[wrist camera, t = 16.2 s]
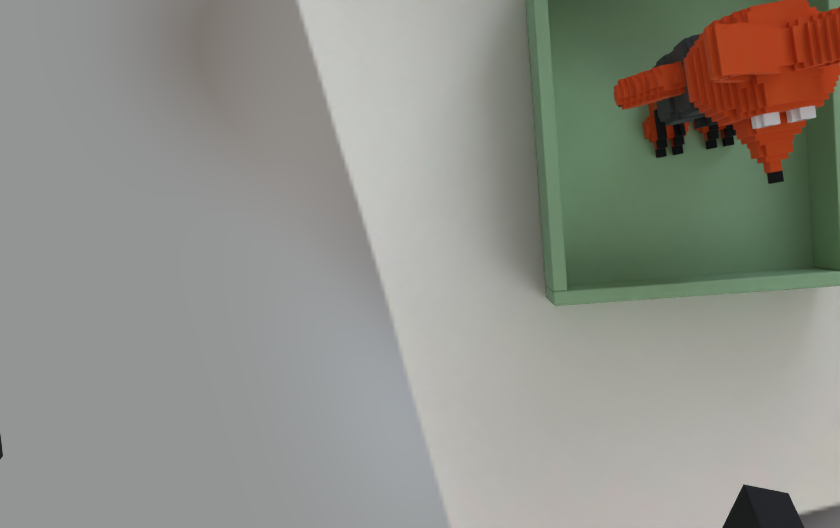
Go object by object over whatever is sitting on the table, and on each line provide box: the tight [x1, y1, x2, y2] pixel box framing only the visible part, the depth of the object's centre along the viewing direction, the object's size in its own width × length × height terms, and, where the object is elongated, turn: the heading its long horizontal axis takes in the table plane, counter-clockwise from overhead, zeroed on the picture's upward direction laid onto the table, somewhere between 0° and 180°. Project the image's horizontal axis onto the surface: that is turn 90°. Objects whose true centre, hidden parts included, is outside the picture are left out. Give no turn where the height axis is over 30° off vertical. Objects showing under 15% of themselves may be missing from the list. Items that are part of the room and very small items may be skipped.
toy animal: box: [613, 0, 840, 184], centre depth 27 cm, size 8×6×12 cm
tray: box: [526, 0, 840, 306], centre depth 32 cm, size 14×12×3 cm
